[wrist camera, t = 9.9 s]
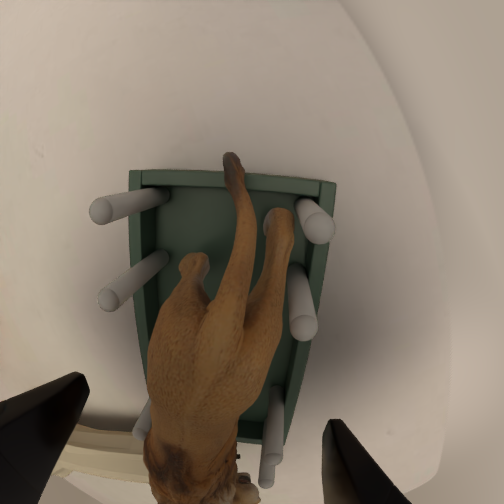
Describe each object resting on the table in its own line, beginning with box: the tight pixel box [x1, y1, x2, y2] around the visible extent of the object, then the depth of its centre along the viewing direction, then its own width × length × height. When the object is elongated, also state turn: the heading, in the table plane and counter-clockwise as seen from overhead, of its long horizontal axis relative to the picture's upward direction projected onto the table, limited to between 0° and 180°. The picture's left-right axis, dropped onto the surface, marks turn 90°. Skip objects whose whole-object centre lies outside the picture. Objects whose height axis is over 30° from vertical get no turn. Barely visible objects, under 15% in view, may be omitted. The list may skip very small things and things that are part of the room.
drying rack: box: [89, 169, 337, 489], centre depth 11 cm, size 8×15×6 cm, turn 176°
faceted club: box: [50, 424, 240, 484], centre depth 16 cm, size 9×8×25 cm
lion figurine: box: [143, 152, 294, 504], centre depth 9 cm, size 15×5×9 cm, turn 176°
